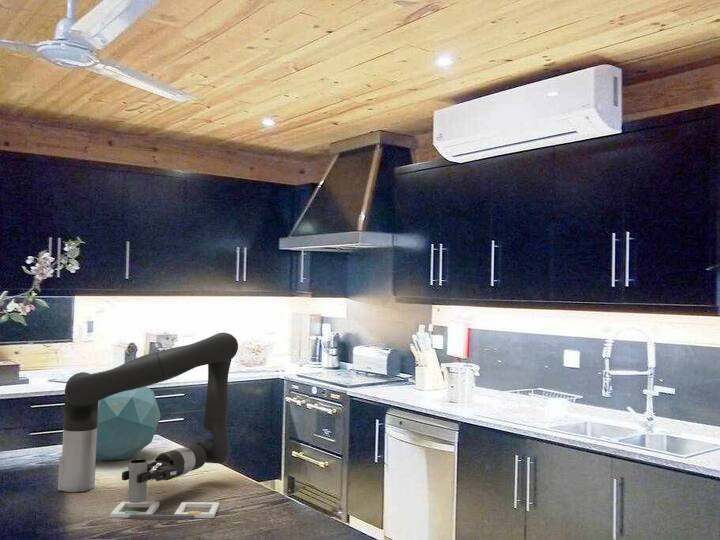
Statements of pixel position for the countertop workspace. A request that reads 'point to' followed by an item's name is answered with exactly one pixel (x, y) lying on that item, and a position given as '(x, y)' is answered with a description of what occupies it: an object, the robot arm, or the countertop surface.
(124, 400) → the sculpture
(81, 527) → the countertop surface
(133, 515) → the thin gray bar
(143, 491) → the planter
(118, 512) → the socket
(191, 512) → the socket
